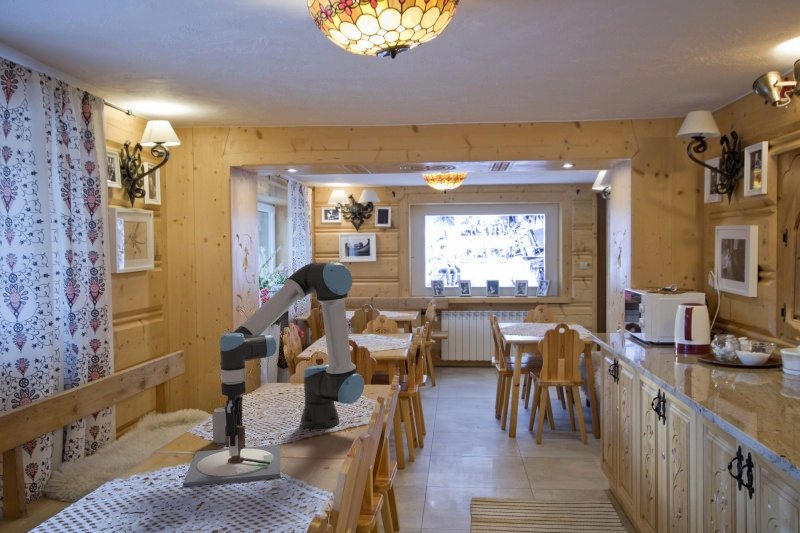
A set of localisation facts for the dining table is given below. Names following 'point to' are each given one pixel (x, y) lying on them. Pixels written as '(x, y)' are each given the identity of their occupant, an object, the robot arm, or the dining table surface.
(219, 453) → the dial board
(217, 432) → the can
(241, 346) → the robot arm
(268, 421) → the dining table surface
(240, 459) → the dial pointer knob
